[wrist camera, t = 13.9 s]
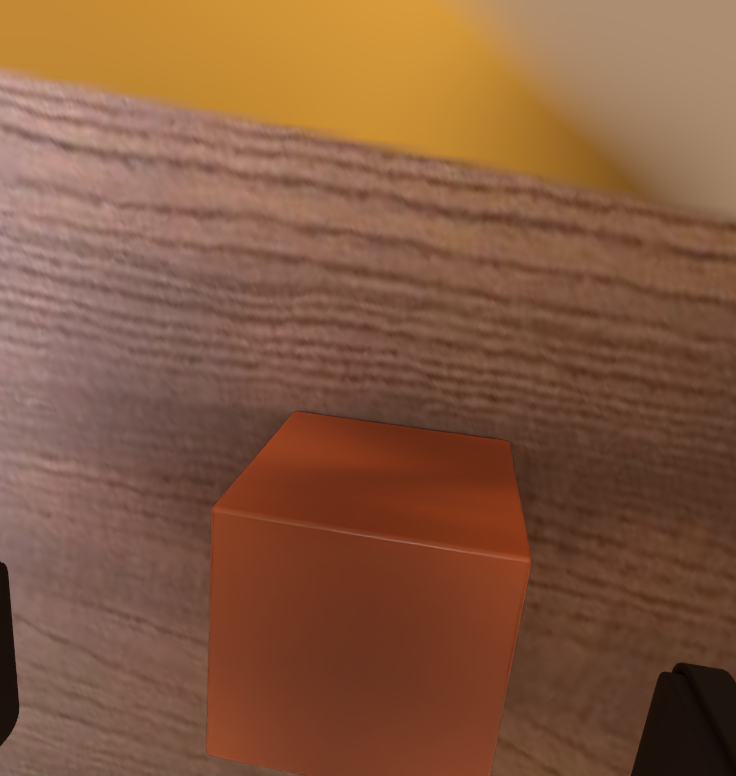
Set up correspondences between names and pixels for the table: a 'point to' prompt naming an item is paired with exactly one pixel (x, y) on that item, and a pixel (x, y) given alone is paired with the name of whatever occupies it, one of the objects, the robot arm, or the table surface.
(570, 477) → the table surface
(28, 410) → the table surface
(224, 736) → the block
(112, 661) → the table surface
